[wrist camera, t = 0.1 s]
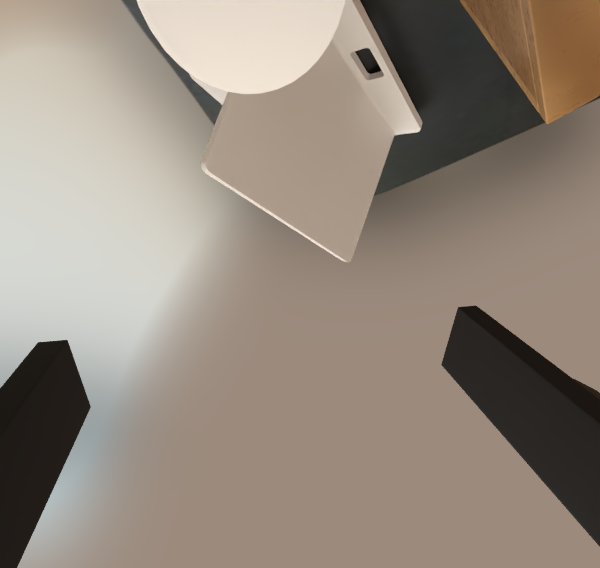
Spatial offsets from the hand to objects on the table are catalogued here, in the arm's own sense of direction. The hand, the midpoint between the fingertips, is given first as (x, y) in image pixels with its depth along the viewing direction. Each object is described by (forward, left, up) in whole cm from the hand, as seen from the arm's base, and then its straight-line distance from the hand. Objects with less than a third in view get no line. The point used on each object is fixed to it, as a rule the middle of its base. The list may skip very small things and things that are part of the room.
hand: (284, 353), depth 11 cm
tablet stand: (+17, +2, -36) cm, 40 cm away
